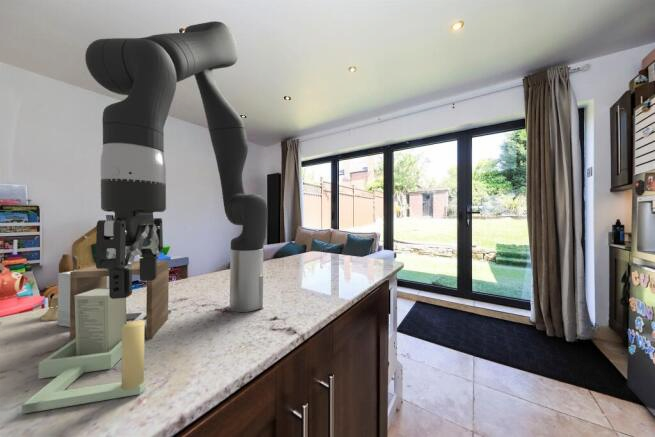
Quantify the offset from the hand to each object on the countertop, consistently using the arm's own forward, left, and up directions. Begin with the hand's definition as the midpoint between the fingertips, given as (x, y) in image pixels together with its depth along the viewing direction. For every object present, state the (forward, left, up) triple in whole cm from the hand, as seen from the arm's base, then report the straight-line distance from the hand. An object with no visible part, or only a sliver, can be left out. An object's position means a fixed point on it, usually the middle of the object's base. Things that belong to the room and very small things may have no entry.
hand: (136, 287), depth 36 cm
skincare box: (+11, -13, -16) cm, 24 cm away
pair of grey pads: (+11, -31, -16) cm, 37 cm away
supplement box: (+23, -32, -16) cm, 43 cm away
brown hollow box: (+11, -23, -16) cm, 30 cm away
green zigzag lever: (+8, -8, -16) cm, 19 cm away
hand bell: (+31, -38, -16) cm, 52 cm away
